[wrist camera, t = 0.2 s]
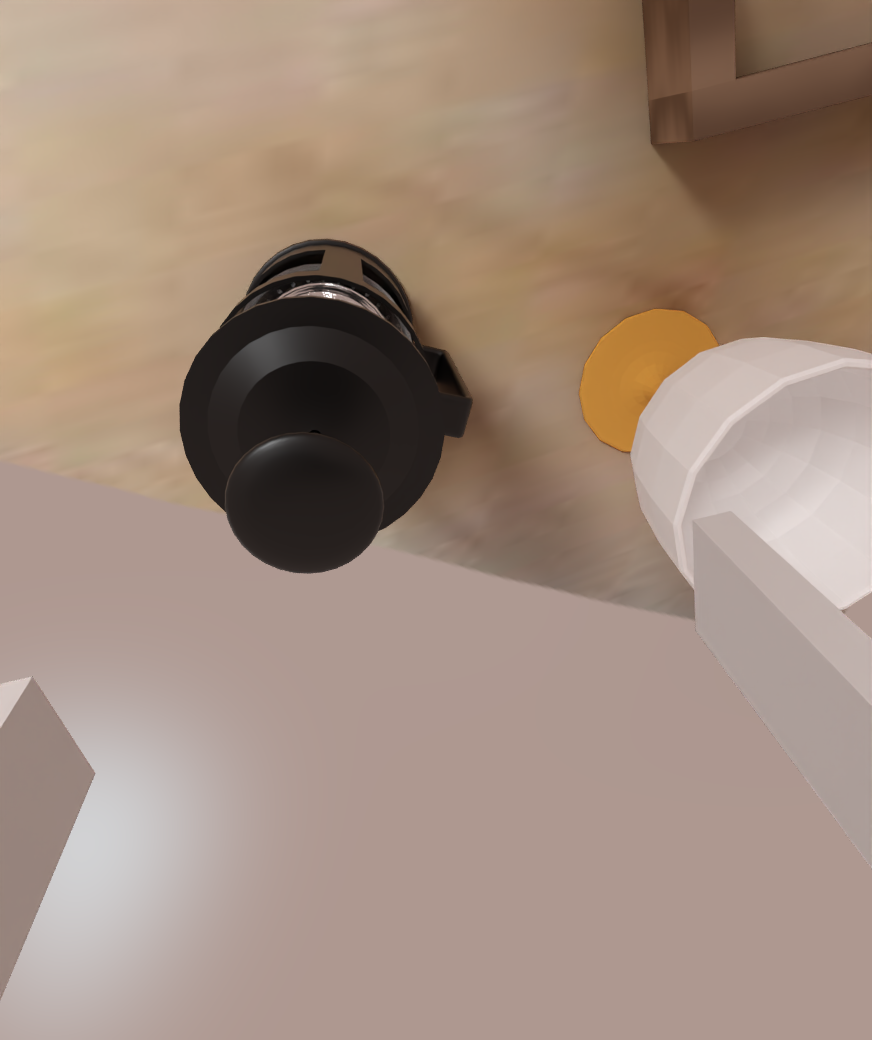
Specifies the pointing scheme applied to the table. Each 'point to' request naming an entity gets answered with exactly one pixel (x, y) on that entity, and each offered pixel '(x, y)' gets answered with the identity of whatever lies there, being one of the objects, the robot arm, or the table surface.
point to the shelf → (731, 75)
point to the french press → (318, 408)
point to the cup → (742, 440)
